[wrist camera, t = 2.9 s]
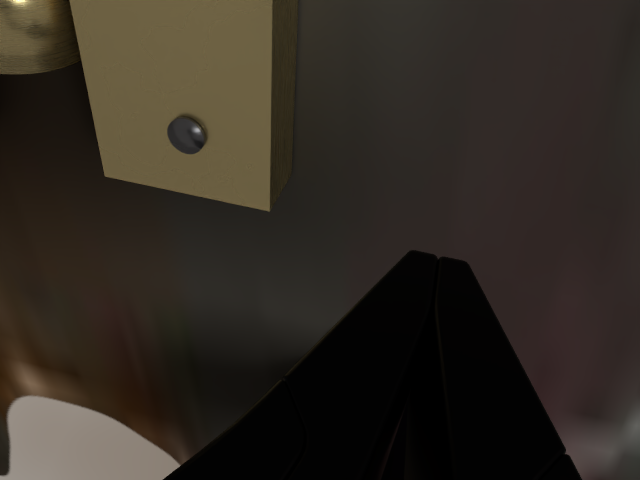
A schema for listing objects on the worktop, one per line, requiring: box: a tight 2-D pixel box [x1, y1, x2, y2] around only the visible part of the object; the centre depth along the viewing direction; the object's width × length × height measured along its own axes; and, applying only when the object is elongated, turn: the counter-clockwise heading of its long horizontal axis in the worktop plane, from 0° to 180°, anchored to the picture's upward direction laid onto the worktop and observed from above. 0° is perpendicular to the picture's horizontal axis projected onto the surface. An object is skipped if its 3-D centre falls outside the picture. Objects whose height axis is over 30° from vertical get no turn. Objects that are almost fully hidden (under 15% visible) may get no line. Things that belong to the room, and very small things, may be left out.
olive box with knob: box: [0, 0, 298, 211], centre depth 16 cm, size 10×11×4 cm
